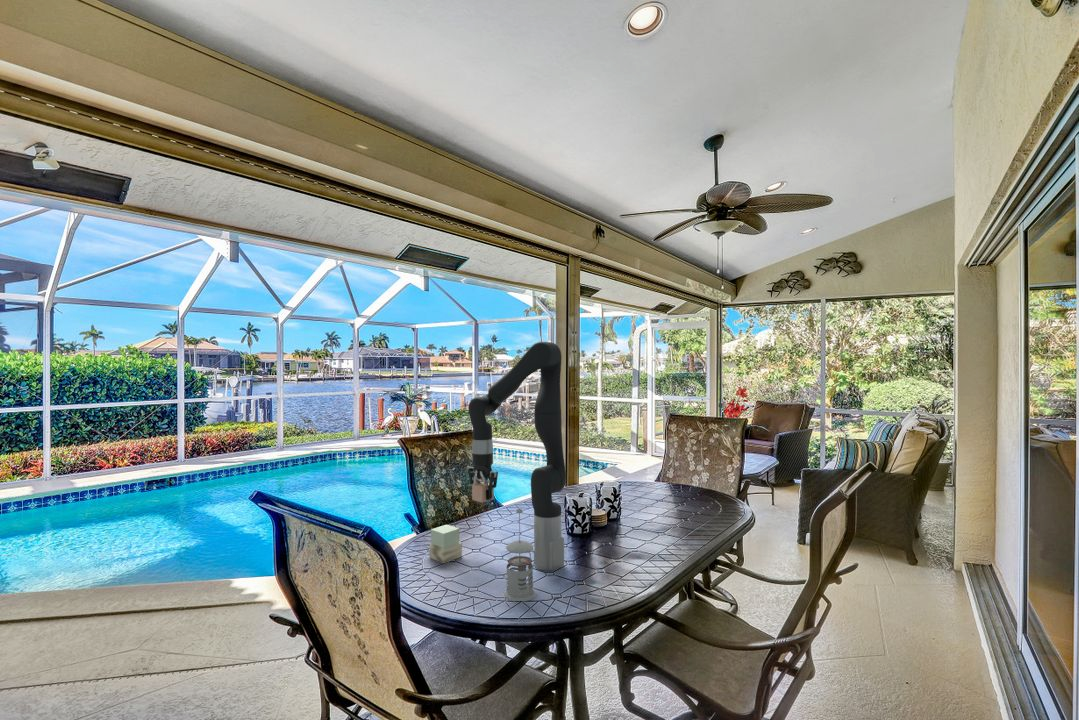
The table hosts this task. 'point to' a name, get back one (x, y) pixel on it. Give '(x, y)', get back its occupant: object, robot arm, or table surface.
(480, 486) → the terracotta block
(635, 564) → the table surface
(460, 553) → the birch base block
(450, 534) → the sage top block
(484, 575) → the table surface
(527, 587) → the french press
